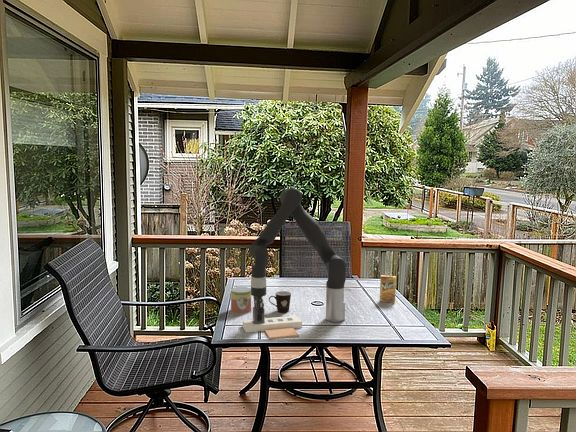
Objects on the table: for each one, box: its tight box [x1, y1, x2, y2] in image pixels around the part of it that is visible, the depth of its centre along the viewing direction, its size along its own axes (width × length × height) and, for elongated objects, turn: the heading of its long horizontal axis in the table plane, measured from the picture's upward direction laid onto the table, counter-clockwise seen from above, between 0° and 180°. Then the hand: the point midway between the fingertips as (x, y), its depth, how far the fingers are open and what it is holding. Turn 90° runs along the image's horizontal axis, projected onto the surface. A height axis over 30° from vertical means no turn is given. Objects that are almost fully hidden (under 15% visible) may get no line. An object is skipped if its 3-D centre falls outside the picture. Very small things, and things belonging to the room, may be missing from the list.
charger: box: [252, 306, 265, 324], centre depth 220 cm, size 5×4×10 cm
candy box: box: [379, 274, 397, 304], centre depth 265 cm, size 9×4×15 cm, turn 72°
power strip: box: [242, 315, 303, 333], centre depth 222 cm, size 28×9×3 cm, turn 105°
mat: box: [264, 327, 299, 340], centre depth 213 cm, size 14×10×1 cm
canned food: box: [230, 286, 252, 315], centre depth 246 cm, size 11×11×12 cm
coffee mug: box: [268, 290, 292, 314], centre depth 246 cm, size 12×9×10 cm
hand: (258, 319), depth 220 cm, fingers closed on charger, 4 cm apart
